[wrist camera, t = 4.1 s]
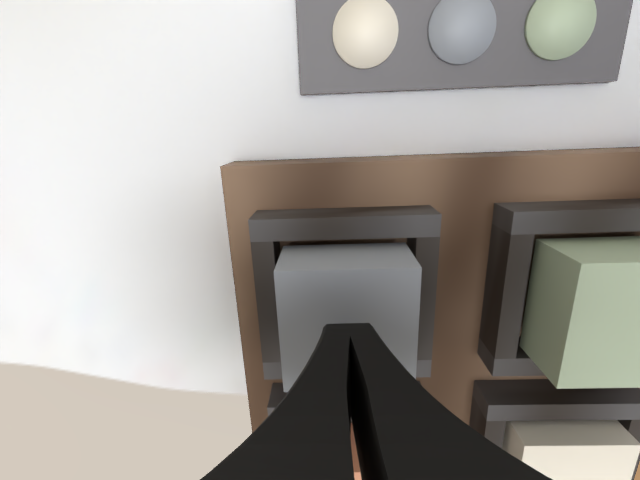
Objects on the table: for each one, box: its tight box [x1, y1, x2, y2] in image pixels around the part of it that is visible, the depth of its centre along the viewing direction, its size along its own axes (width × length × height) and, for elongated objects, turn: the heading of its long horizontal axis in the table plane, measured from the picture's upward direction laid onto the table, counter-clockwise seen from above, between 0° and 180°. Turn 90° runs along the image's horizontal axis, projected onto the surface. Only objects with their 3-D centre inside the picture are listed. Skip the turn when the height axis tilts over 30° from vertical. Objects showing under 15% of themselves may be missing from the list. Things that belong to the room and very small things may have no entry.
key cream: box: [502, 420, 640, 480], centre depth 16 cm, size 4×4×2 cm
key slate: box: [274, 242, 422, 392], centre depth 12 cm, size 4×4×2 cm
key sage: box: [520, 236, 640, 389], centre depth 12 cm, size 4×4×2 cm
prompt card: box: [296, 0, 633, 95], centre depth 13 cm, size 12×4×1 cm, turn 92°
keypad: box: [220, 147, 640, 480], centre depth 16 cm, size 18×18×4 cm
